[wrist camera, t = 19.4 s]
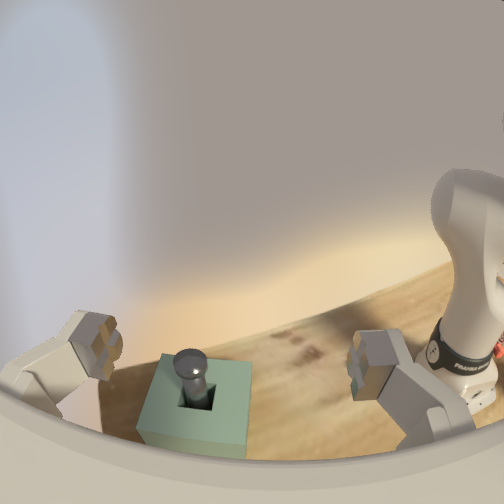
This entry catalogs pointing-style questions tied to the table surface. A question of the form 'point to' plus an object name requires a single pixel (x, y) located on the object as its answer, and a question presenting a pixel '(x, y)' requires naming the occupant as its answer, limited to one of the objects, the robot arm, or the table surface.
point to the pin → (193, 377)
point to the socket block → (199, 411)
